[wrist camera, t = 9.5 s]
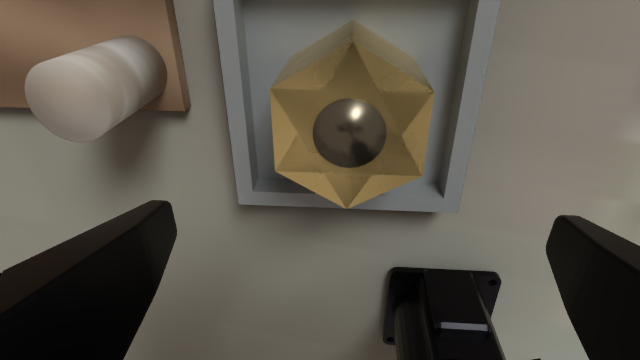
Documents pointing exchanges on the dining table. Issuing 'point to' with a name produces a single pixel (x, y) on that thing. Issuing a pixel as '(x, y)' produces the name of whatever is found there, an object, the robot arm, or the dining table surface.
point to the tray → (395, 27)
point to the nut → (351, 116)
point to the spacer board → (80, 32)
